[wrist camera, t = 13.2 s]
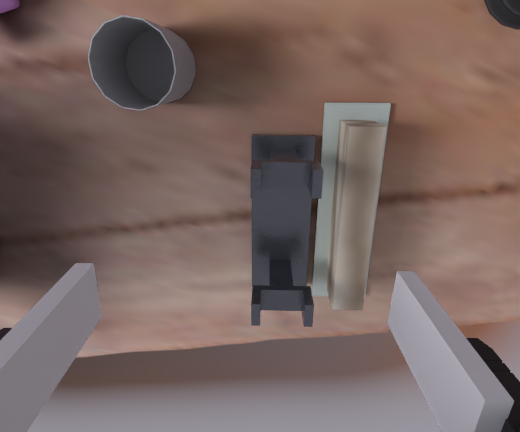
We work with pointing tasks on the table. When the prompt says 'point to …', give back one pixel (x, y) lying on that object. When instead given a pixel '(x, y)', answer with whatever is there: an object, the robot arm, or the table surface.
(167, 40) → the cup
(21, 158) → the table surface
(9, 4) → the teapot
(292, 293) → the rack
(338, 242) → the rail
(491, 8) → the figurine
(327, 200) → the mat
